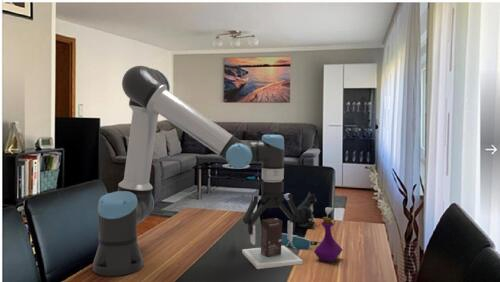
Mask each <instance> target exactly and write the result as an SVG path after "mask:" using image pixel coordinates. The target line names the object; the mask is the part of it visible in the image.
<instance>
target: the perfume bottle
mask: <svg viewBox="0 0 500 282" xmlns="http://www.w3.org/2000/svg"><path fill="white" fill-rule="evenodd" d="M324 209H325V210H324V211H325V213H326V215H327V216H323V217H322V220H323V221H321V222H320V224H321V225H322V226H323V228H324V230H325V231H324V232H325V233H324V236H323V239H322V240H321V241H322V242H321V243H320V244H319V245H318V246H317V247H316V248H315V249H314V250H313V253H314V254H315V256H316V257H317V258H318V260H320V262H325V263H330V264H331V263H334V262H335V261H336V259H338V257H339V255H340V254H341V253H342V251H343V248H342V247H341V246H340V245H339V244H338V242H337V241H336V239H334V237H333V235H332V231H331V230H332V229H331V228H332V227H333V226H334V222H333V220H332V218H331V217H328V216H329V215H330V214H331V213H333V212H334V210H335V208H333V207H331V206H330V207H328V206H327V207H325V208H324Z"/></svg>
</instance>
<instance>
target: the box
mask: <svg viewBox="0 0 500 282" xmlns="http://www.w3.org/2000/svg"><path fill="white" fill-rule="evenodd" d="M282 233H283V220H281V219H279V218H276V217H274V218H266V219H262V220H261V234H260V235H261V239H260V240H261V241H260V248H261V254H262V255H264V256H266V257H270V256H274V255H280V254H281V246H282V243H281V242H282Z"/></svg>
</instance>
